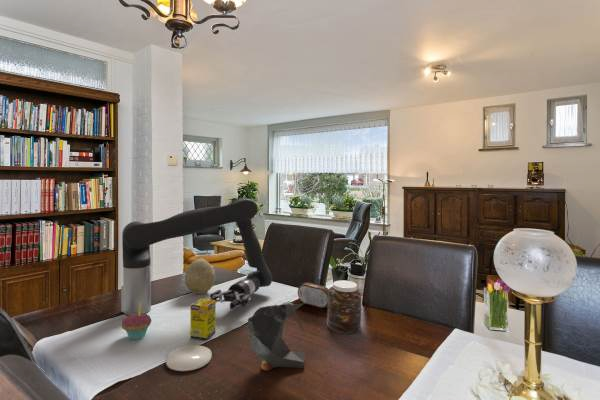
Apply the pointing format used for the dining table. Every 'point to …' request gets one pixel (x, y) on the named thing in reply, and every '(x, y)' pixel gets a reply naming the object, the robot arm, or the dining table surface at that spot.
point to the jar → (344, 307)
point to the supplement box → (202, 319)
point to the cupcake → (136, 324)
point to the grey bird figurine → (274, 336)
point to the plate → (188, 358)
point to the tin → (313, 295)
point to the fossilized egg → (199, 276)
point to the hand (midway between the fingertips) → (219, 304)
